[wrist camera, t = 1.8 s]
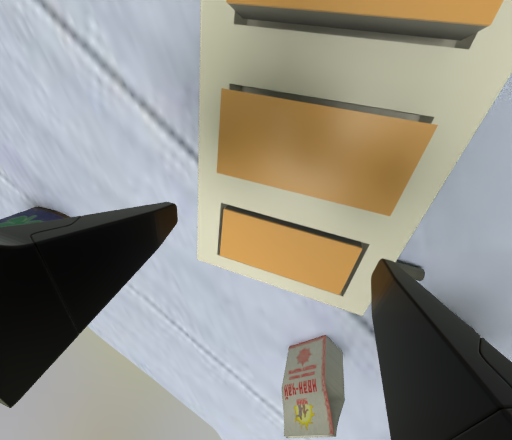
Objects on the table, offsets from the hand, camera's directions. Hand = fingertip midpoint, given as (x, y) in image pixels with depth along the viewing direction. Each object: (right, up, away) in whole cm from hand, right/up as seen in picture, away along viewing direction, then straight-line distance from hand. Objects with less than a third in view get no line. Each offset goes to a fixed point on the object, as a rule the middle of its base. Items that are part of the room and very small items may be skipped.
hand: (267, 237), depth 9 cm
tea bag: (+8, -18, +23) cm, 30 cm away
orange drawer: (+4, +6, +8) cm, 11 cm away
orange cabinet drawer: (+3, -1, +14) cm, 14 cm away
